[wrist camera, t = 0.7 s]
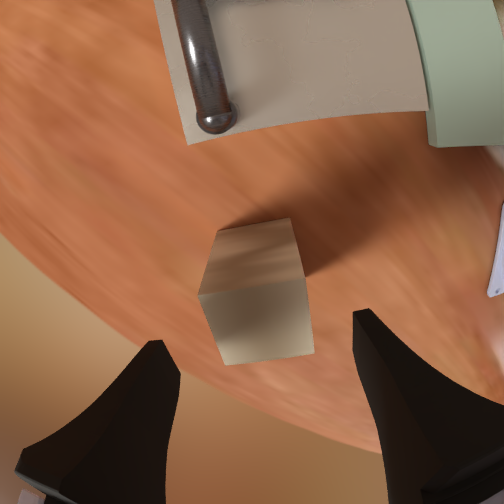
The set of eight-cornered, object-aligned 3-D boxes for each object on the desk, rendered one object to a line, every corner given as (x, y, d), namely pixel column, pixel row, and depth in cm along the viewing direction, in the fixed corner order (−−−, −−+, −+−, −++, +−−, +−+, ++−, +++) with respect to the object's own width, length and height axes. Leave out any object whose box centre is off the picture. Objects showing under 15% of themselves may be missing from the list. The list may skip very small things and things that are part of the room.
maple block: (289, 217, 16) (305, 277, 11) (299, 279, 18) (314, 353, 12) (217, 231, 16) (197, 295, 11) (234, 290, 18) (225, 365, 13)
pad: (463, -47, 6) (470, -51, 6) (506, 142, 13) (516, 145, 12) (372, -70, 7) (378, -77, 6) (428, 144, 13) (437, 147, 13)
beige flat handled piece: (375, -48, 8) (410, -83, 4) (417, 109, 13) (471, 117, 8) (155, -22, 10) (120, -58, 5) (193, 142, 14) (164, 158, 10)
